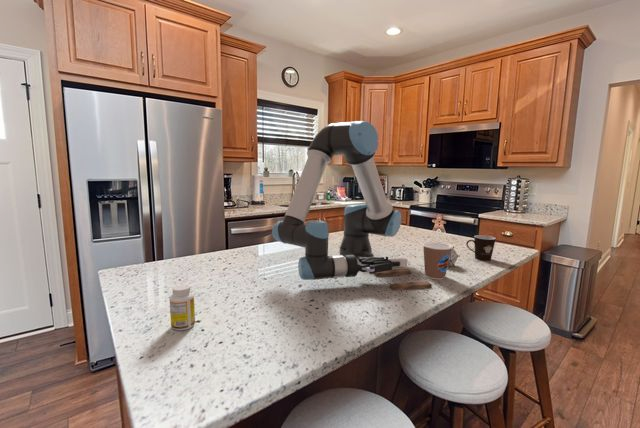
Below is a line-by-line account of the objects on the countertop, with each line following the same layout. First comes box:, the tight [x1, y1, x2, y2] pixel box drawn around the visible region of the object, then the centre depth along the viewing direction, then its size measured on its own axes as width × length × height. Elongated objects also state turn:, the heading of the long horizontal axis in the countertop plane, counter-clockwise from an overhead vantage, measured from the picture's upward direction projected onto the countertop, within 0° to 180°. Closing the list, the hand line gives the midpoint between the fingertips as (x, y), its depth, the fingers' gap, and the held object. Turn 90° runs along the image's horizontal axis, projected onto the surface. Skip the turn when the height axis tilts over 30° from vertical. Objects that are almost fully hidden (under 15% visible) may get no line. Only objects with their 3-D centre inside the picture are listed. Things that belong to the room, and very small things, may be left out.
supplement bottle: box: [169, 284, 196, 332], centre depth 80 cm, size 6×6×10 cm
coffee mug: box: [465, 234, 497, 262], centre depth 145 cm, size 12×9×10 cm
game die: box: [448, 246, 461, 268], centre depth 134 cm, size 9×8×10 cm
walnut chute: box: [373, 268, 432, 291], centre depth 116 cm, size 14×17×1 cm
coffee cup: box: [422, 241, 453, 280], centre depth 120 cm, size 10×10×12 cm
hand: (406, 262), depth 115 cm, fingers closed
